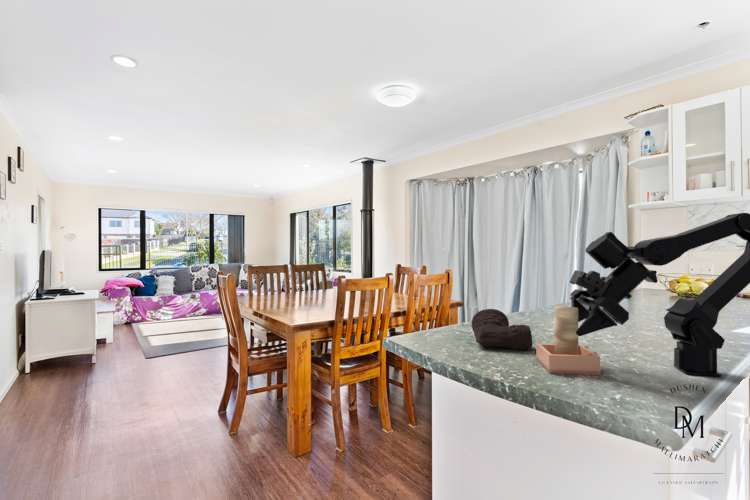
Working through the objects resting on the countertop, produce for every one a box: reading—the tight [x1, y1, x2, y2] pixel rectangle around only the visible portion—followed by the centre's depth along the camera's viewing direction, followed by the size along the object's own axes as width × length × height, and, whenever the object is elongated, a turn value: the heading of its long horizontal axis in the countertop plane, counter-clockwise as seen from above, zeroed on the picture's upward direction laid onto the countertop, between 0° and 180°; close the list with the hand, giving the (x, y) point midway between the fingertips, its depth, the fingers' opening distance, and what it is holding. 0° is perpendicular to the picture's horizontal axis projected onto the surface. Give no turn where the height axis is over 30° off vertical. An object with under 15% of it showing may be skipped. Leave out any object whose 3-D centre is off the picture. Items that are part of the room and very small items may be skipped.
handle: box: [582, 344, 598, 355], centre depth 105 cm, size 8×1×5 cm
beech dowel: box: [553, 305, 579, 355], centre depth 90 cm, size 5×5×13 cm
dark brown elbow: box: [471, 308, 533, 351], centre depth 111 cm, size 10×15×15 cm
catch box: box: [535, 343, 602, 376], centre depth 90 cm, size 11×11×4 cm
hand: (569, 330), depth 90 cm, fingers open, 9 cm apart
